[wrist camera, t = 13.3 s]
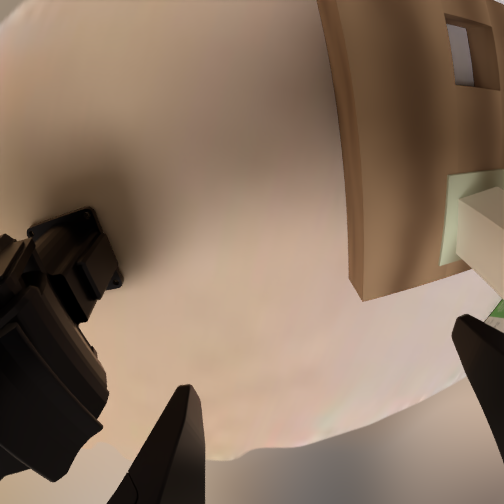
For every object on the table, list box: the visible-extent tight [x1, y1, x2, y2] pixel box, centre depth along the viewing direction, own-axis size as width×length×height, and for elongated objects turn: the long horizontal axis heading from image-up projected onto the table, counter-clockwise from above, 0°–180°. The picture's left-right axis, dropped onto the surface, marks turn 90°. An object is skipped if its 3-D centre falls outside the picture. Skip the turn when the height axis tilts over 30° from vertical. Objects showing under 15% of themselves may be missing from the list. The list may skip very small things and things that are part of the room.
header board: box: [317, 0, 504, 302], centre depth 16 cm, size 16×22×3 cm
